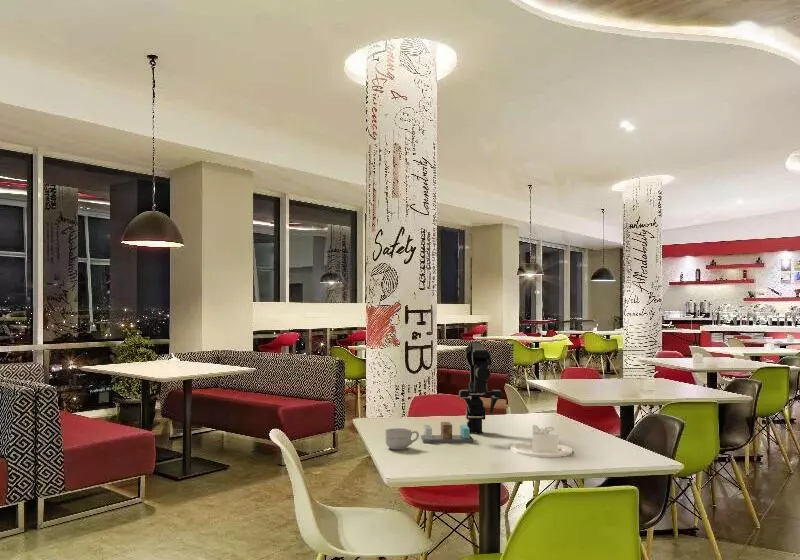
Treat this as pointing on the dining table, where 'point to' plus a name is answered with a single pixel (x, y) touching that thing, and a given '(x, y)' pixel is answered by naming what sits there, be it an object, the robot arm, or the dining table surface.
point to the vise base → (438, 438)
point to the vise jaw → (465, 431)
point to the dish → (542, 445)
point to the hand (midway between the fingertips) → (480, 413)
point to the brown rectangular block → (446, 430)
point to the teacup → (399, 438)
